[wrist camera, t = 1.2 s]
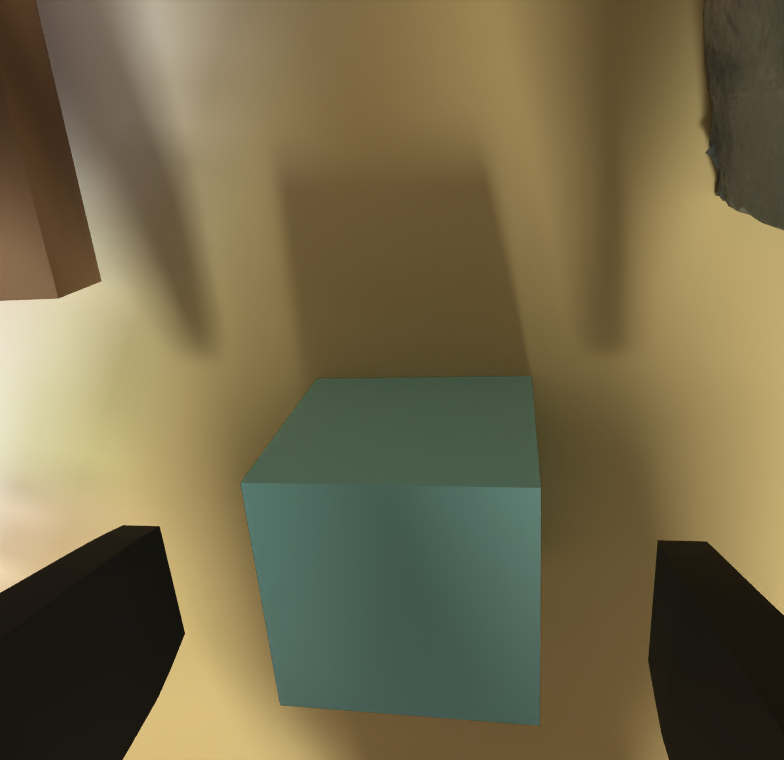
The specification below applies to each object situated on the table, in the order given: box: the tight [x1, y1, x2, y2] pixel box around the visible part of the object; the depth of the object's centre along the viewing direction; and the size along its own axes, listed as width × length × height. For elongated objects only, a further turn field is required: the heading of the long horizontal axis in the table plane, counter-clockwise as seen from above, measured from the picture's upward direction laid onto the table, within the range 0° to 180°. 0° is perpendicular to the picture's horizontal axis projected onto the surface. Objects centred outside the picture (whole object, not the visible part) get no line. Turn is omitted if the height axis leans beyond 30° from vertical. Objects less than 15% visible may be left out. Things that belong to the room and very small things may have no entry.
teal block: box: [241, 376, 541, 726], centre depth 11 cm, size 4×4×4 cm
